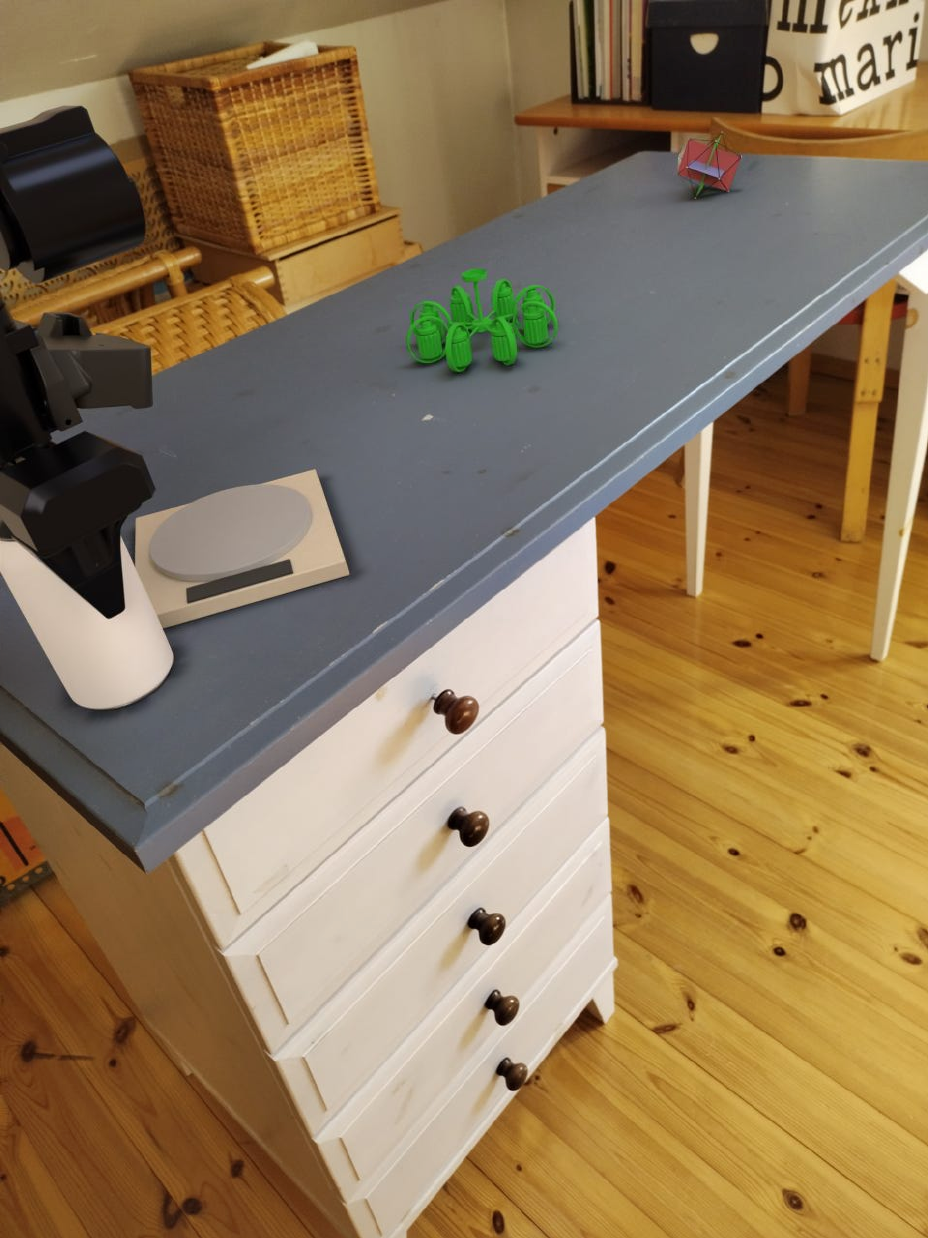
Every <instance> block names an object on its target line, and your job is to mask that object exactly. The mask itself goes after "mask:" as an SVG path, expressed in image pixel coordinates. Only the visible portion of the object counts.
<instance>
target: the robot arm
mask: <svg viewBox="0 0 928 1238" xmlns="http://www.w3.org/2000/svg"><path fill="white" fill-rule="evenodd" d="M137 187H138V186H137V184H136V182H135V180H134V179H133V178H132V177H131V176H128V174H127V172H126V170H125V168H124V165H123V164H122V163H121V160H120V159H119V157H118V155H117V154H116V153H115V151H114V150H113V149H112V148H111V146H110V145H109V144H108V143H107V141H106V140H105V139H103V138H102V137H101V136H100V134H98V133H97V132H96V130H95V127H94V125H93V123H92V119H91V117H90V114H89V111H88V109H87V108H86V107H84V106H83V105H61V106H58V107H54V108H50V109H47V110H45V111H41V112H40V113H38V114H37V115H35V116H33V118H31V119H28V120H25V121H22V122H18V123H15V124H12V125H8V126H4V127H0V270H2V271H4V272H9V271H11V270H13V269H16V270H17V272H18V273H19V274H21V275H22V276H23V278H24V279H26V280H27V281H29V282H30V283H32V284H34V285H39V284H42V283H44V282H48V281H50V280H53V279H55V278H58V277H60V276H63V275H66V274H68V273H72V272H75V271H77V270H79V269H82V268H85V267H87V266H90V265H92V264H95V263H99V262H101V261H103V260H106V259H109V258H112V257H114V256H117V255H120V254H123V253H125V252H128V251H130V250H133V249H136V248H139V247H141V245H142V244H143V243H144V241H145V237H146V231H147V230H146V226H147V225H146V224H147V223H146V216H145V210H144V206H143V202H142V199H141V196H140V192H139V189H138V188H137ZM152 367H153V366H152V347H151V345H148V344H145V343H142V342H139V341H135V340H133V339H130V338H126V337H123V336H119V335H111V334H108V333H103V332H95V334H93V333H92V331H91V329H90V327H89V326H88V324H87V321H86V319H84V317H83V316H81V315H79V314H75V313H71V312H66V311H65V312H64V311H63V312H60V311H58V312H55V311H54V312H53V311H52V312H51V311H49V312H43V313H42V315H41V317H40V320H39V323H38V325H37V327H35V326H32V324H30V323H26V322H25V321H20V320H18V319H16V318H14V317H13V315H12V313H11V311H10V309H9V306H8V304H7V302H6V300H5V298H4V296H3V293H2V291H0V517H1V518H2V520H3V521H4V522H5V524H6V525H7V526H8V528H9V529H10V530H11V532H12V533H13V535H11V537H12V538H13V539H14V540H15V541H16V542H17V543H18V544H20V545H21V546H22V547H23V548H24V549H25V550H26V551H28V552H29V553H30V554H31V555H32V556H33V557H35V558H36V559H37V560H38V561H39V562H41V563H42V564H43V565H44V566H45V567H47V568H48V569H49V570H50V571H51V572H52V573H54V574H55V575H56V576H57V577H58V578H59V579H61V580H62V581H63V582H64V583H65V584H66V585H68V586H69V587H70V588H71V589H72V590H73V591H74V592H76V593H77V594H78V595H79V596H80V597H81V598H83V599H84V600H85V601H86V602H87V603H88V604H90V605H91V606H92V607H93V608H94V609H96V610H97V611H98V612H99V613H100V614H101V615H103V616H104V617H105V618H107V619H111V618H113V617H115V616H117V615H118V614H120V613H122V612H123V611H124V610H125V597H124V585H123V573H122V561H121V537H122V535H121V534H122V533H121V531H122V527H123V525H124V523H125V521H126V520H127V518H128V516H129V515H131V514H134V513H135V512H137V511H138V510H139V509H140V508H141V507H142V506H143V504H144V503H145V502H147V501H149V500H151V499H152V498H153V497H154V494H155V492H156V491H157V488H156V485H155V483H154V481H153V477H152V476H151V473H150V471H149V468H148V466H147V463H146V461H145V458H144V456H143V455H142V454H140V453H138V452H136V451H134V450H132V449H129V448H127V447H125V446H123V445H121V444H119V443H117V442H114V441H112V440H110V439H108V438H105V437H102V436H100V435H97V434H94V433H92V432H90V431H86V430H84V431H82V432H79V433H77V434H75V435H73V436H71V437H69V438H67V439H64V440H62V441H60V442H59V443H58V442H56V441H55V440H53V437H52V433H54V432H57V431H59V432H65V431H67V430H69V429H71V428H73V427H76V426H78V425H80V424H82V423H84V420H83V417H82V416H81V413H80V411H79V410H91V409H104V408H105V409H106V408H118V407H119V408H120V407H130V408H132V409H135V410H142V409H143V410H144V409H149V408H151V407H153V406H154V398H153V397H154V396H153V395H154V394H153V372H152V371H153V369H152Z"/></svg>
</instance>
